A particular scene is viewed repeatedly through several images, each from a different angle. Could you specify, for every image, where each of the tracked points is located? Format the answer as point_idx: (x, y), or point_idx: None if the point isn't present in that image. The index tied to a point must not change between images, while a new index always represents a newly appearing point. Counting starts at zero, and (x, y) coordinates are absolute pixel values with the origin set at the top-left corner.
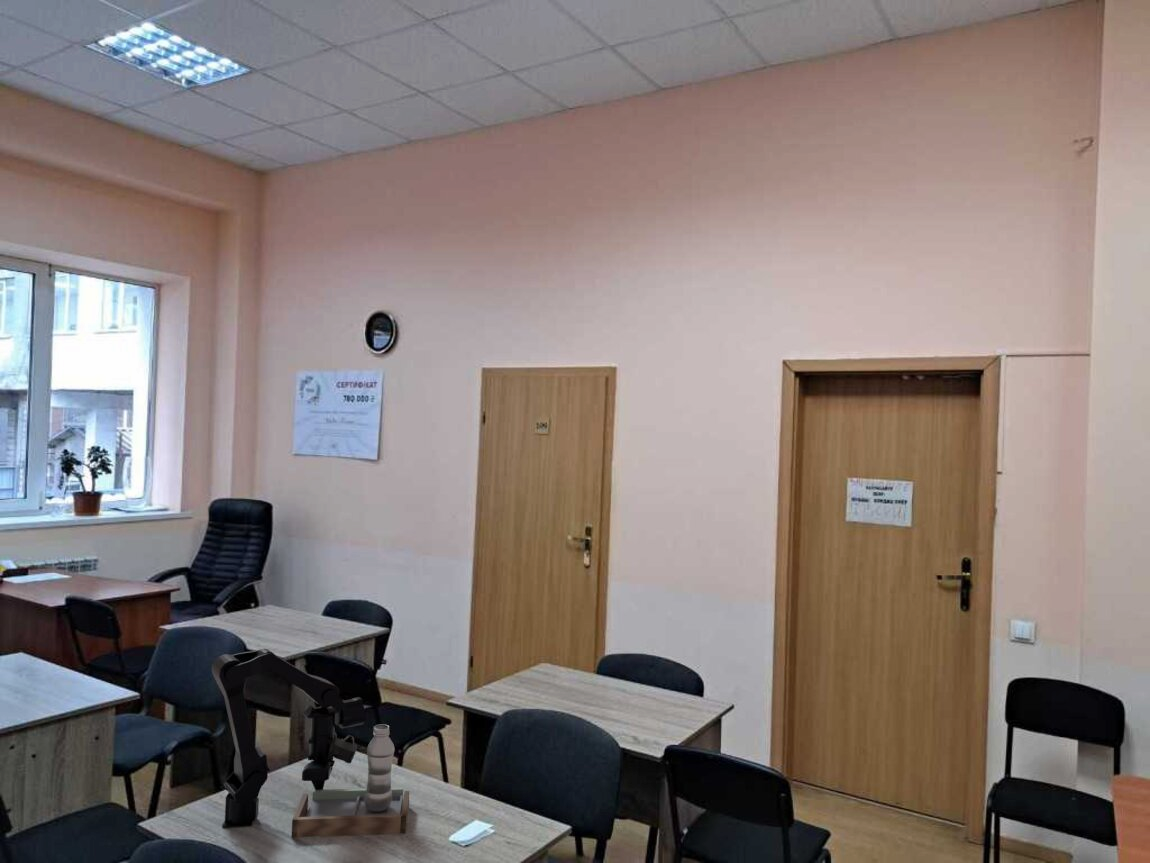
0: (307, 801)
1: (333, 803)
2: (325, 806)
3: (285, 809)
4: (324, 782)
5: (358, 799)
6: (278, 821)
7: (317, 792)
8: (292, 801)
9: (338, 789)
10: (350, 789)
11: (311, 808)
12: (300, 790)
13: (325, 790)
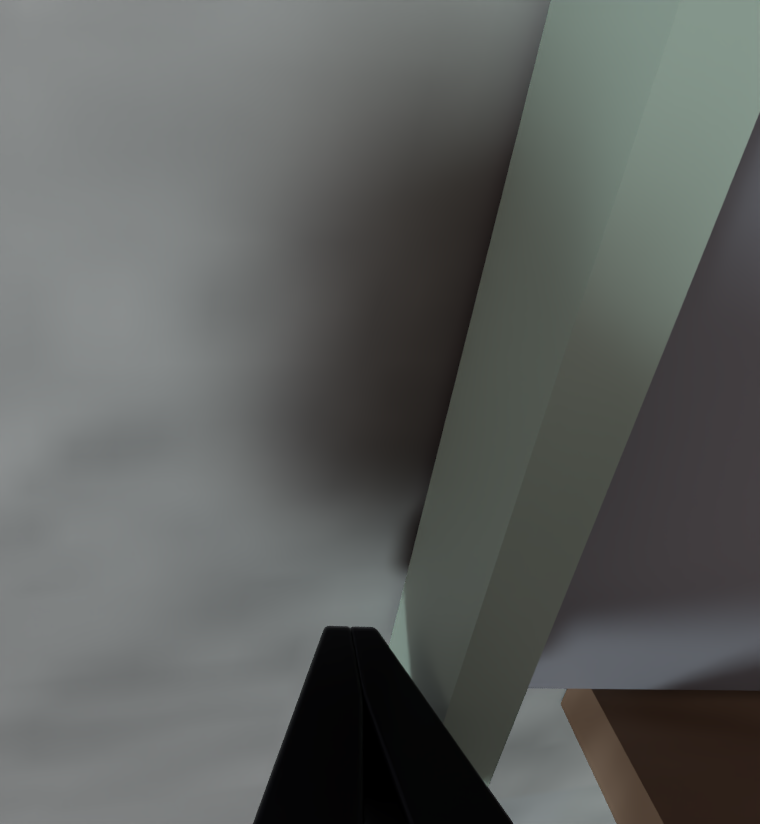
0: (676, 779)
1: (677, 432)
2: (715, 529)
3: None
4: (431, 810)
5: None
6: None
7: (501, 738)
8: None
9: (542, 434)
10: (678, 117)
11: (685, 666)
12: (15, 786)
13: (504, 656)
